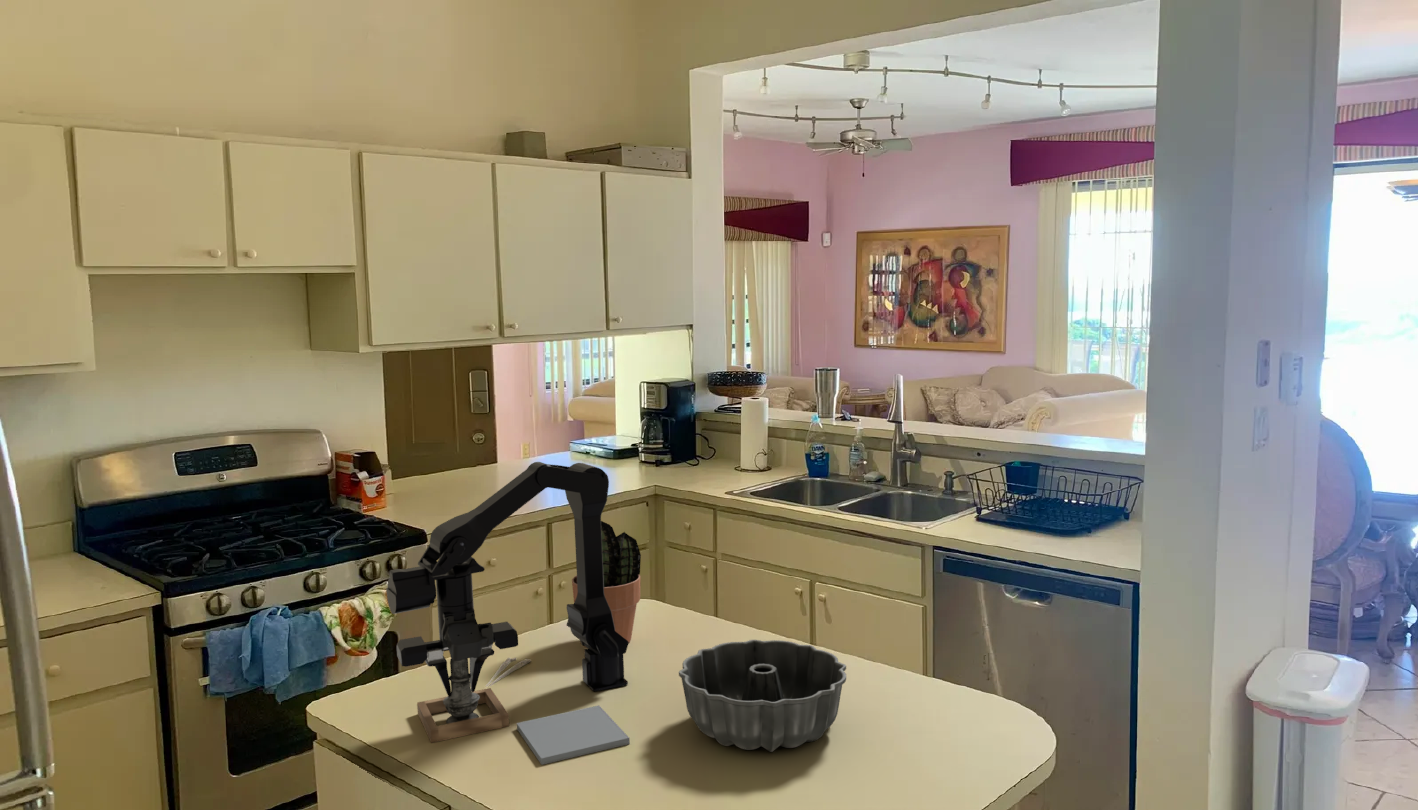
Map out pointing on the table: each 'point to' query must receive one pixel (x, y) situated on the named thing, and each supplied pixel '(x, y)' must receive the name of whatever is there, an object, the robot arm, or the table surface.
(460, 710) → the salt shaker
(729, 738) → the bundt pan
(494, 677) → the tweezers
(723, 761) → the table surface
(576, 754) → the grey mat
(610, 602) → the potted plant
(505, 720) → the frame
